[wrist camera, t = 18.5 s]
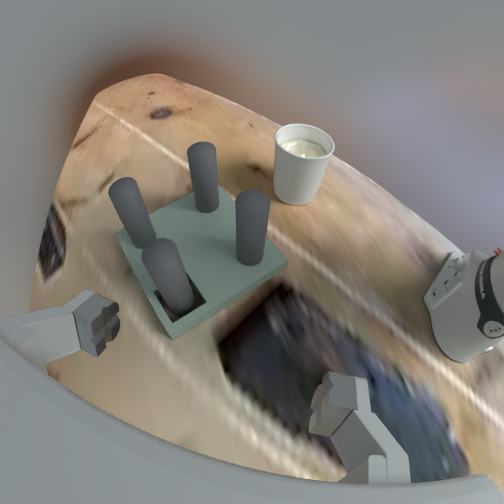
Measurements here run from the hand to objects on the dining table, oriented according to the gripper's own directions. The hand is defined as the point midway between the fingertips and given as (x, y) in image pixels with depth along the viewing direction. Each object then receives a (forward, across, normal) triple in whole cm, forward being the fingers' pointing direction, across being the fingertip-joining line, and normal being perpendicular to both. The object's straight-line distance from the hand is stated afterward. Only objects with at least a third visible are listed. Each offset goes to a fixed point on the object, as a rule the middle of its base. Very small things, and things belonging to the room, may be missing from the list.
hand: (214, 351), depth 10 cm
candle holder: (+47, 0, +2) cm, 47 cm away
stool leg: (+25, +10, +18) cm, 32 cm away
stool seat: (+32, +12, +13) cm, 36 cm away
